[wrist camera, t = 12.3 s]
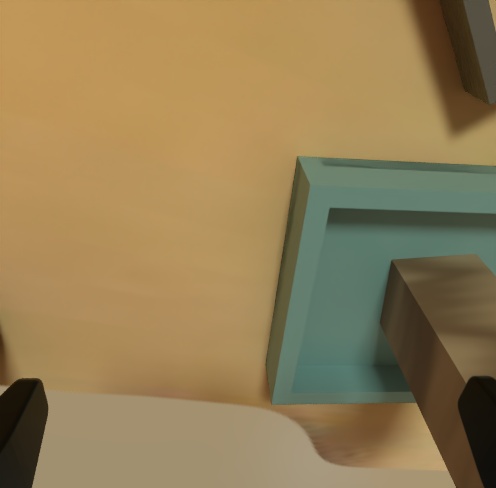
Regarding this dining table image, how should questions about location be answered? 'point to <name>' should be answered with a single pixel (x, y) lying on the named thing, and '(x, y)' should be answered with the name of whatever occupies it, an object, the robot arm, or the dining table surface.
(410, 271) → the plate
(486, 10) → the grey square bin
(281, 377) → the tray
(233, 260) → the dining table surface
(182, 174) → the dining table surface
